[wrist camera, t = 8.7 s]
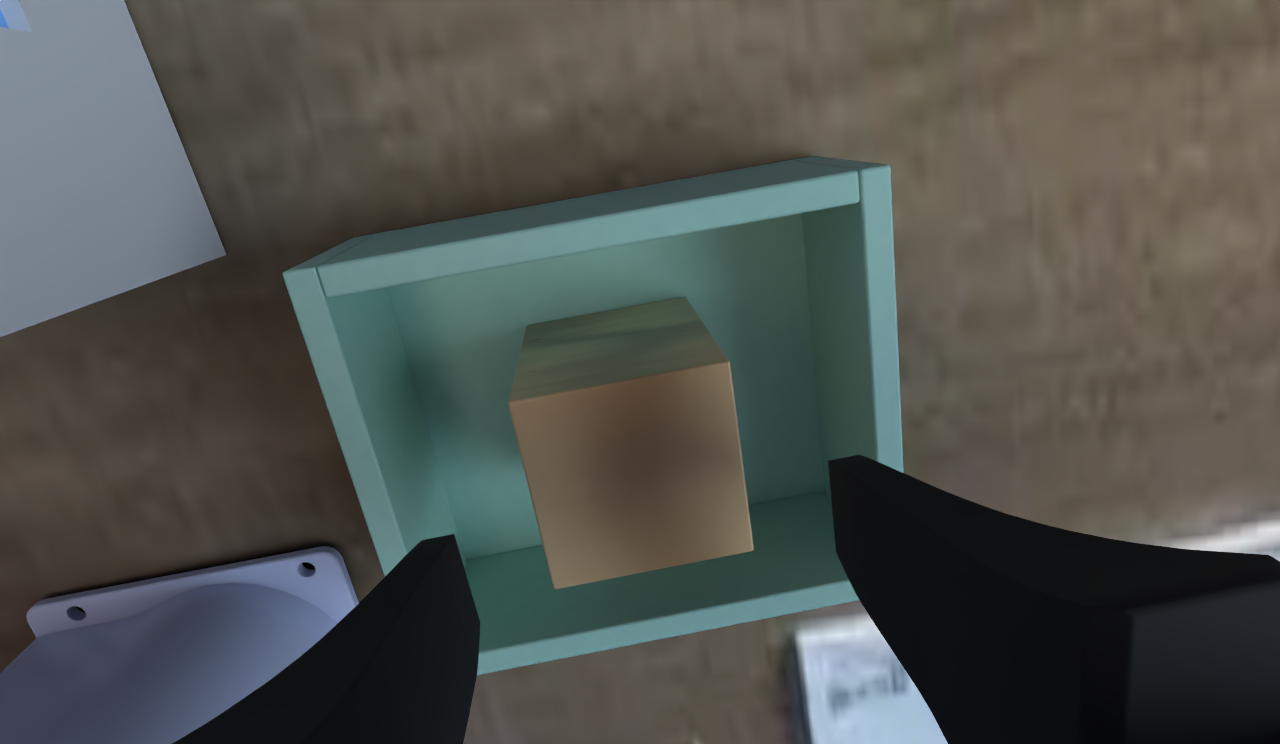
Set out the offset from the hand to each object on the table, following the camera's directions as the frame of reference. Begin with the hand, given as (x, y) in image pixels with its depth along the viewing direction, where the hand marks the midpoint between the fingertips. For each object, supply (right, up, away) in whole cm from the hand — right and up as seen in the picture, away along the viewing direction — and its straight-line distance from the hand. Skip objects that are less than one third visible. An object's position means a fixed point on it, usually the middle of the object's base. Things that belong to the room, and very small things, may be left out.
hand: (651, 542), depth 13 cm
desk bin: (-1, +3, +8) cm, 9 cm away
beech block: (-1, +3, +7) cm, 8 cm away
